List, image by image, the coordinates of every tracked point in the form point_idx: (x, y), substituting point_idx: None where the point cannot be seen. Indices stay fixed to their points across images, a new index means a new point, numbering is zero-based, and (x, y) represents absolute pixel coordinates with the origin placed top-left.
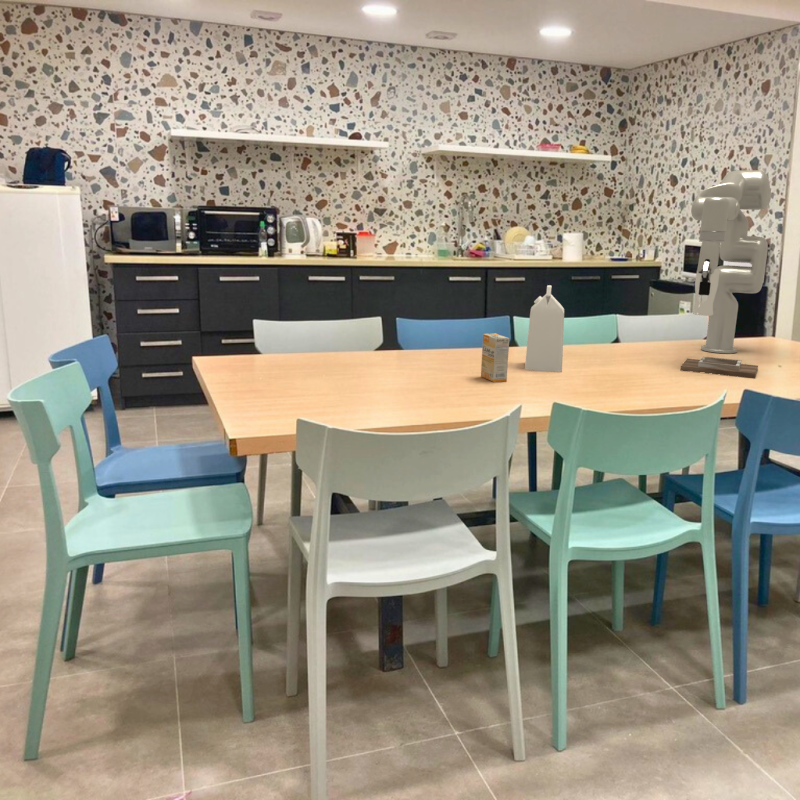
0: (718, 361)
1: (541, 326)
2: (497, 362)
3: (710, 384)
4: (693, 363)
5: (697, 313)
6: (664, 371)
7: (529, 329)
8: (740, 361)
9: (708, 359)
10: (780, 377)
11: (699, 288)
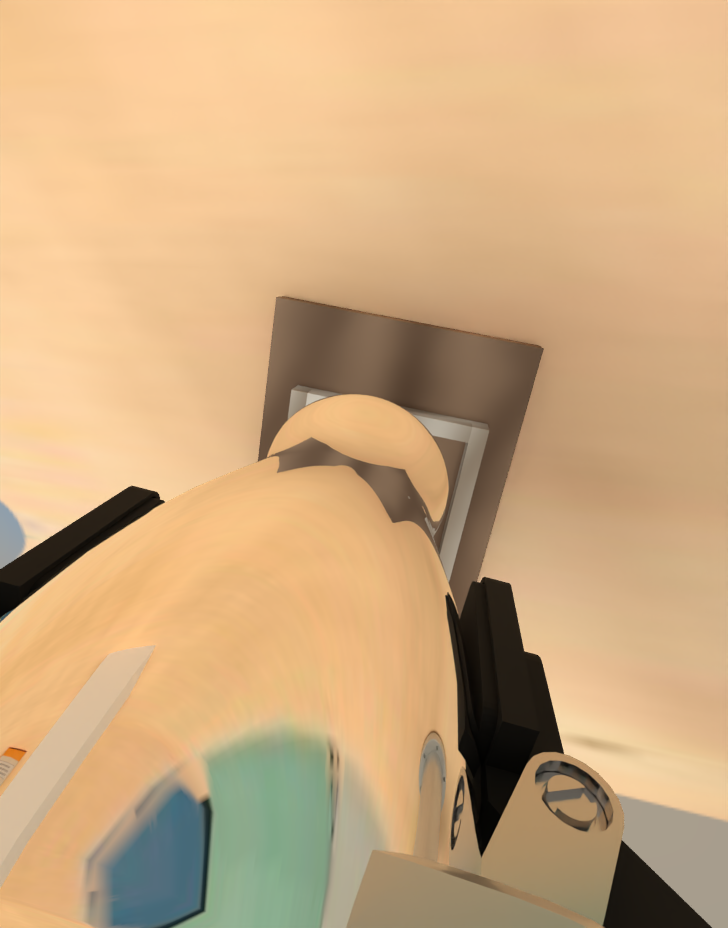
0: (452, 499)
1: None
2: None
3: (27, 407)
4: (382, 370)
5: (280, 429)
6: (216, 211)
7: None
8: None
9: (463, 454)
10: None
11: (77, 524)
